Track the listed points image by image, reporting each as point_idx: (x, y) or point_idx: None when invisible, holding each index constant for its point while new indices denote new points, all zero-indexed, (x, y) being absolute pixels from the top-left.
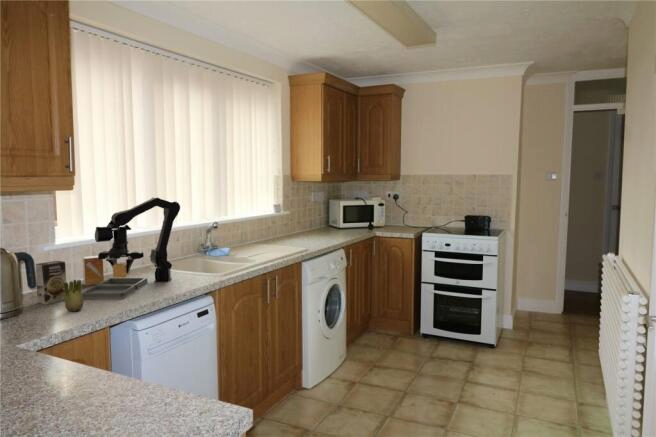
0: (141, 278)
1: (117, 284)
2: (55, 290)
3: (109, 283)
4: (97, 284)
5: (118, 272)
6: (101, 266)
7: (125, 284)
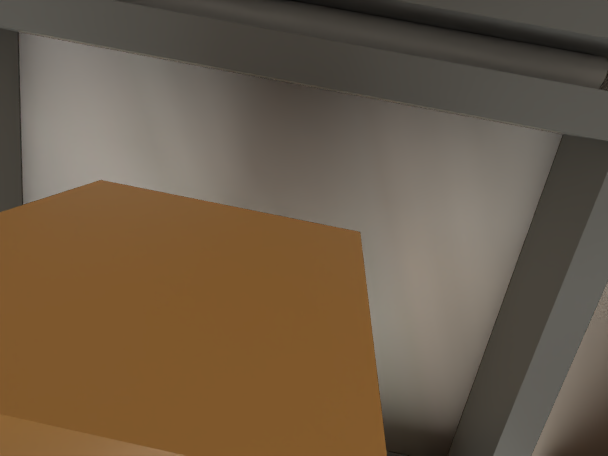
0: None
1: (256, 56)
2: None
3: (458, 439)
4: None
5: (189, 245)
6: None
7: (103, 23)
